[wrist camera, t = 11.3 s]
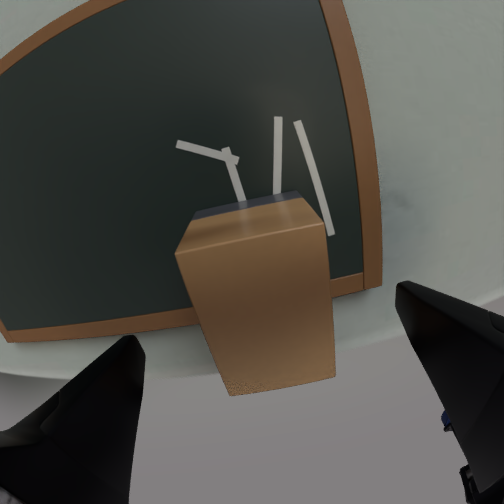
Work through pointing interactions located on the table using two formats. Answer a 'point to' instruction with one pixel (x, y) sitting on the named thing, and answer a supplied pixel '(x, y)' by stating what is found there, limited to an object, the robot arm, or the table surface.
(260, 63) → the chalkboard
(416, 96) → the table surface
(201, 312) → the eraser
